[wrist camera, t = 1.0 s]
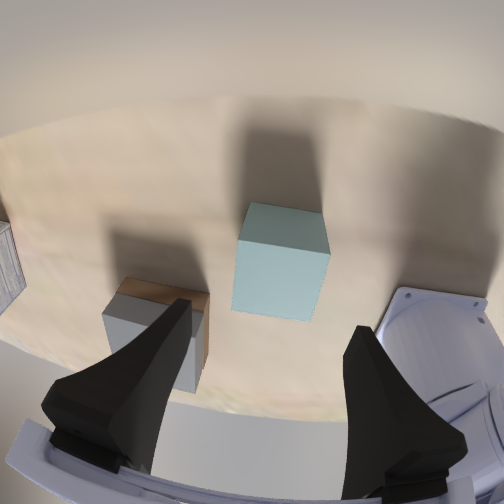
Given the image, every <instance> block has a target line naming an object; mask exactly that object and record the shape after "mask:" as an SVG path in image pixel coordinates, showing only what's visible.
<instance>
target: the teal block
mask: <svg viewBox="0 0 504 504" xmlns="http://www.w3.org/2000/svg"><path fill="white" fill-rule="evenodd" d="M330 256H331V253H330V248H329V243H328V238H327V233H326V228H325V223H324V218H323V214H322V213H316V212H310V211H305V210H299V209H293V208H286V207H280V206H274V205H267V204H261V203H254V202H251V203H250V206H249V209H248V212H247V215H246V218H245V221H244V224H243V227H242V229H241V232H240V235H239V238H238V245H237V255H236V265H235V275H234V285H233V296H232V306H231V310H233V311H239V312H245V313H251V314H257V315H264V316H270V317H277V318H283V319H290V320H297V321H304V322H311V319H312V316H313V313H314V310H315V306H316V303H317V300H318V297H319V293H320V290H321V287H322V283H323V280H324V277H325V273H326V270H327V266H328V263H329V259H330Z"/></svg>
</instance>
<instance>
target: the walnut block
mask: <svg viewBox="0 0 504 504" xmlns="http://www.w3.org/2000/svg"><path fill="white" fill-rule="evenodd" d="M116 293H120V294H124V295H128V296H132V297H136V298H140V299H144V300H148V301H152V302H156V303H161V304H165V305H169V306H170V305H171V304H172V303H173V302H174V301H175V300H176V299H177V298H182V299H187V300H192V311H197V312H201V313H204V331H203V356H202V369H204V366H205V363H206V359H207V356H208V344H209V304H210V294H209V293H204V292H198V291H193V290H187V289H182V288H177V287H172V286H166V285H161V284H156V283H151V282H146V281H141V280H136V279H132V278H127V277H126V279H125V280H124V281H123V283H122V284H121V286H120V287H119V288H118V290H117V291H116Z"/></svg>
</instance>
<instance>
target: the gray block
mask: <svg viewBox="0 0 504 504" xmlns="http://www.w3.org/2000/svg"><path fill="white" fill-rule="evenodd" d="M168 307H169V305H165V304H161V303H156V302H152V301H148V300H144V299H140V298H136V297H132V296H128V295H124V294H120V293H116V294H115V296H114V297H113V298H112V300H111V301H110V303H109V304H108V305H107V307H106V308H105V310H104V311H103V313H102V317H103V321H104V325H105V329H106V333H107V337H108V341H109V345H110V348H111V352H112V354H113V353H115V352H117V351H118V350H120V349H121V348H122V347H124V346H125V345H127V344H128V343H129V342H131V341H132V340H133V339H134V338H136V337H137V336H138V335H139V334H140V333H142V332H143V331H144V330H145V329H146V328H147V327H149V326H150V325H151V324H152V323H153V322H154V321H155V320H156V319H157V318H158V317H159V316H160V315H161V314H162V313H163V312H164V311H165V310H166V309H167V308H168ZM203 331H204V313H201V312H197V311H192V336H191V340H190V344H189V347H188V351H187V354H186V356H185V359H184V361H183V364H182V366H181V369H180V371H179V373H178V376H177V378H176V381H175V383H174V385H173V389H177V390H181V391H185V392H189V393H194V394H195V393H196V389H197V386H198V383H199V379H200V376H201V373H202V356H203Z"/></svg>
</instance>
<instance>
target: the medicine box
mask: <svg viewBox="0 0 504 504" xmlns="http://www.w3.org/2000/svg"><path fill="white" fill-rule="evenodd" d="M25 289H26V284H25V281H24V277H23V274H22V271H21V267H20V264H19V261H18V257H17V253H16V249H15V245H14V241H13V237H12V233H11V229H10V224H9V223H7V222H3V221H0V316H1V315H2V314H3V313H4V312H5V311H6V310H7V308H8V307H9V306H10V305H11V304H12V303H13V302H14V301H15V299H16V298H17V297H18V296H19V295H20V294H21V293H22V292H23V291H24V290H25Z"/></svg>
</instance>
